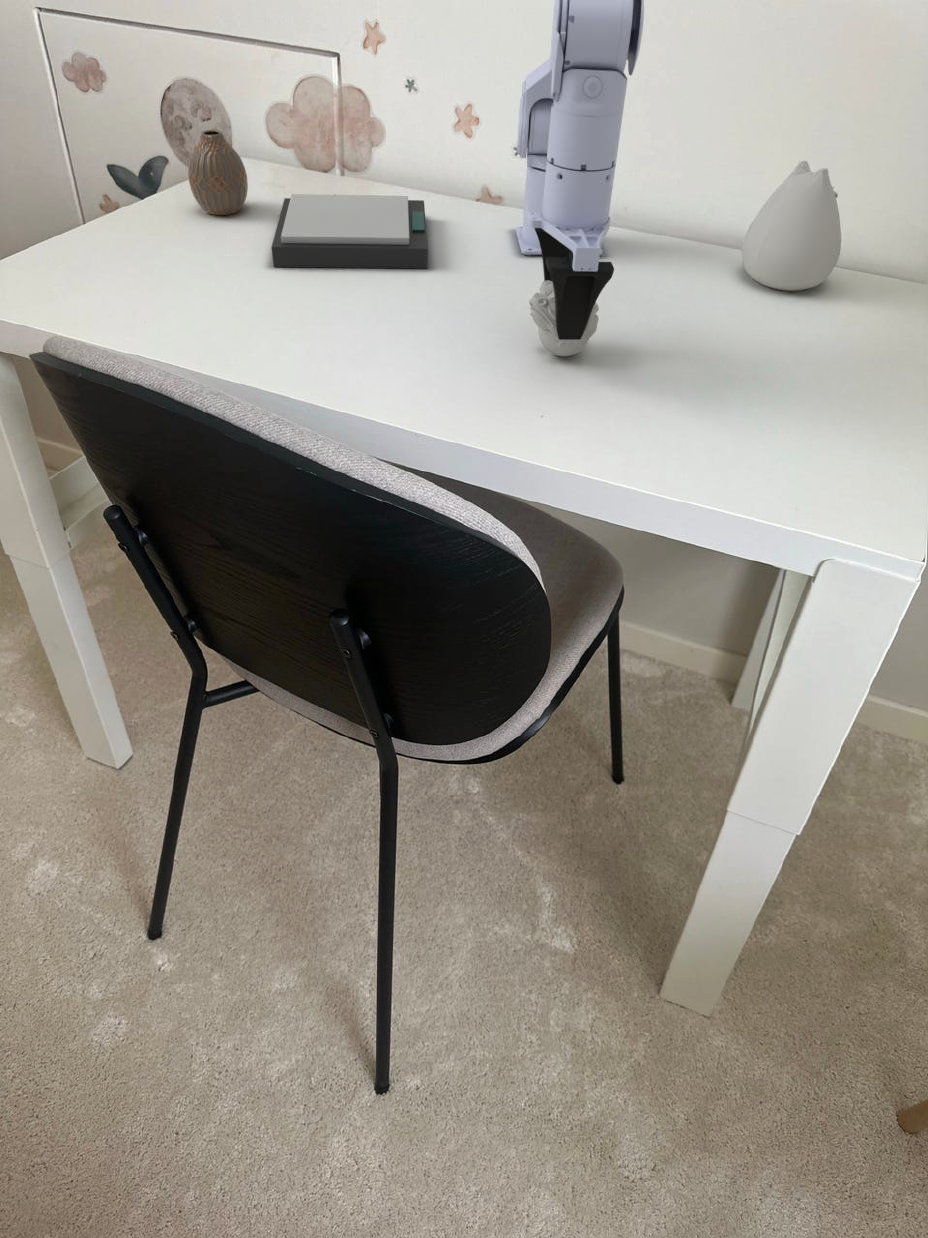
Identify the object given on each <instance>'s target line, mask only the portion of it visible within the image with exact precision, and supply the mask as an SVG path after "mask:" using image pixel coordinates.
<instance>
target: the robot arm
mask: <svg viewBox="0 0 928 1238" xmlns="http://www.w3.org/2000/svg"><path fill="white" fill-rule="evenodd" d="M644 1H645V0H554V6H553V15H552V16H553V17H552V26H551V27H552V28H551V41H550V54H549V55H550V56H549V58H548V59H547V60H545V61H544V62H542V64H540V65H539V66H537V67H536V68H535V69H533V70H532V71H530V72H529V73H528V74H527V75H526V76H525V80H524V81H523V82H522V89H521V97H520V100H519V111H518V125H517V126H518V127H517V141H516V142H517V144H516V152H517V154H518V155H519V156H520V158H521V159H526V177H525V190H524V201H523V216H522V226H516V227H515V228H514V229H515V234H516V238H517V242H518V245H519V249H520V252H521V254H522V255H527V256H528V255H529V256H531V255H533V256H534V255H535V256H539V255H540V256H541V258H542V267H543V282H544V281H547V280H549V281H552V283H553V288H554V296H555V317H556V330H557V335H558V338H559V339H560V340H580V339H581V338H582V336H583V333H584V331H585V328H586V326H587V323H588V320H589V317H590V315H591V312H592V309H593V307H594V304H595V302H596V303H597V301H598V298H599V296H600V295H601V293H602V291H603V289H604V288H605V287H606V285H607V284H608V283H609V282H610V280H611V279H612V277H613V275H614V271H615V267H614V264H613V263H612V261H600V257H601V256H602V255H603V252H604V250H603V245H604V244H603V242H604V240H605V238H606V236H607V234H608V233H609V231H610V226H611V217H610V209H611V201H612V194H613V189H614V188H613V187H614V180H615V174H616V173H615V172H616V166H617V159H618V151H619V144H620V137H621V130H622V121H623V115H624V108H625V102H626V101H625V100H626V94H627V88H628V87H627V86H628V77H627V76H626V74H625V69H626V65H627V69H628V70H627V71H628V75H629V76H631V77H632V75H633V73H634V71H635V69H636V64H637V61H638V57H639V54H640V49H641V43H642V39H643V38H642V37H643V29H644V17H645V2H644Z"/></svg>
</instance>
